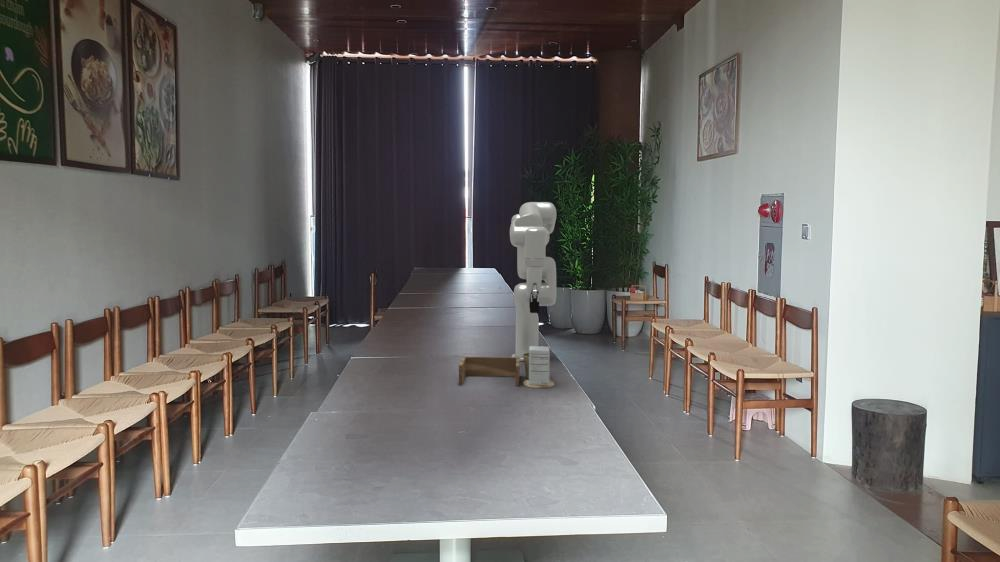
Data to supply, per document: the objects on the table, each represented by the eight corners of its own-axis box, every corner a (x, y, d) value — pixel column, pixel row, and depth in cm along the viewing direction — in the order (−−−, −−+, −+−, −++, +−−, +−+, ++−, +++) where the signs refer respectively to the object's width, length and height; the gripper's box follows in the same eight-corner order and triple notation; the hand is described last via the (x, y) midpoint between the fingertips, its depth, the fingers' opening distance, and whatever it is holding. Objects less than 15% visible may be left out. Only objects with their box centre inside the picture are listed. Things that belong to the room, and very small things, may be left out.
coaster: (543, 379, 277) (543, 377, 277) (559, 386, 267) (560, 384, 267) (517, 382, 272) (517, 380, 271) (533, 389, 262) (533, 387, 262)
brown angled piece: (462, 374, 283) (462, 356, 282) (519, 375, 282) (519, 357, 281) (458, 384, 267) (458, 365, 267) (518, 385, 267) (519, 366, 266)
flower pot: (517, 378, 278) (517, 355, 277) (528, 373, 286) (528, 351, 285) (540, 381, 274) (540, 358, 273) (550, 376, 282) (551, 353, 281)
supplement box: (528, 380, 273) (529, 345, 271) (549, 380, 272) (549, 346, 271) (528, 385, 266) (528, 349, 264) (549, 385, 265) (549, 350, 264)
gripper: (524, 260, 275) (523, 306, 277) (524, 265, 258) (523, 314, 260) (544, 260, 275) (543, 307, 277) (546, 265, 258) (545, 314, 260)
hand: (534, 310), depth 269 cm, fingers open, 9 cm apart
